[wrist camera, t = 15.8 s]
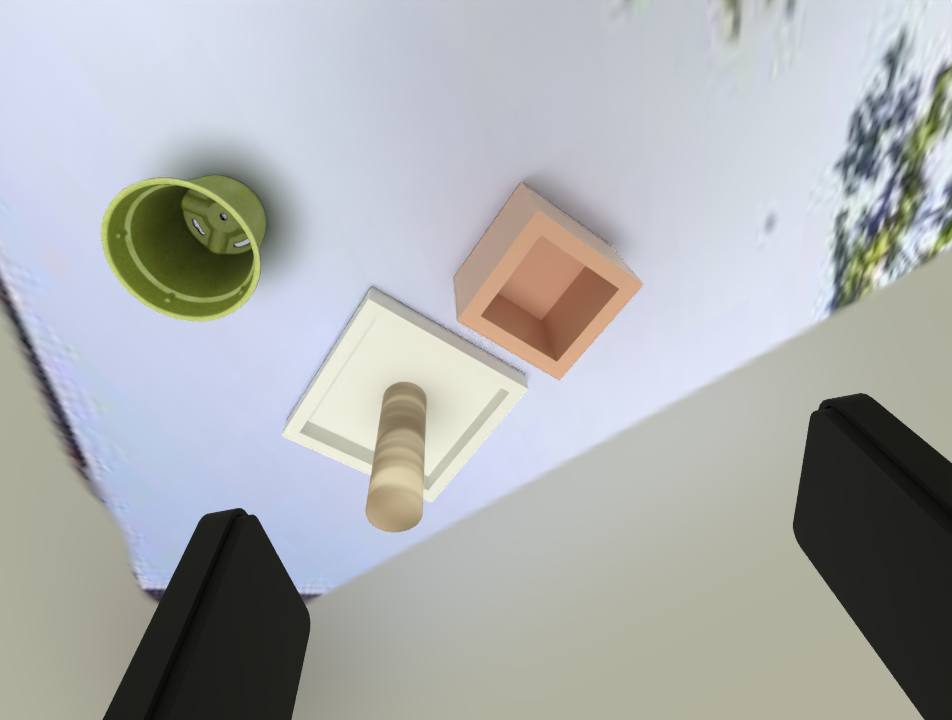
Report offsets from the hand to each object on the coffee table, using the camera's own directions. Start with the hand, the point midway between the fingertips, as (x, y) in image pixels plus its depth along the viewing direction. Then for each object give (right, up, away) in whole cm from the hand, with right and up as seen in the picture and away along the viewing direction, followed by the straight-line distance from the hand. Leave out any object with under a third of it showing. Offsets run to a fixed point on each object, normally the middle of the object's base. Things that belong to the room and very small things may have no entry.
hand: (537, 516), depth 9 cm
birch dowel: (-8, -1, +41) cm, 42 cm away
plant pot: (-20, +14, +33) cm, 41 cm away
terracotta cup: (+4, +11, +36) cm, 38 cm away
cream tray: (-8, -1, +42) cm, 43 cm away
